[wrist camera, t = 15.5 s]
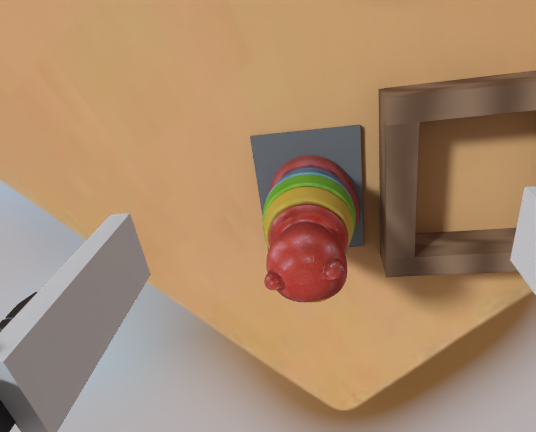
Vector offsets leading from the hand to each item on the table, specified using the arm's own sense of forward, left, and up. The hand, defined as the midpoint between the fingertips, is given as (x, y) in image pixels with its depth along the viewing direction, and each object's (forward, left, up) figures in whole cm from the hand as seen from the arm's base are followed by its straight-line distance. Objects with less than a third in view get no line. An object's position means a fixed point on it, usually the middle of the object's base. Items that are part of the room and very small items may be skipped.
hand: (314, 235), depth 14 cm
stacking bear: (-2, -12, -31) cm, 33 cm away
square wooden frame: (+16, -11, -31) cm, 37 cm away
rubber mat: (-2, -12, -31) cm, 33 cm away
